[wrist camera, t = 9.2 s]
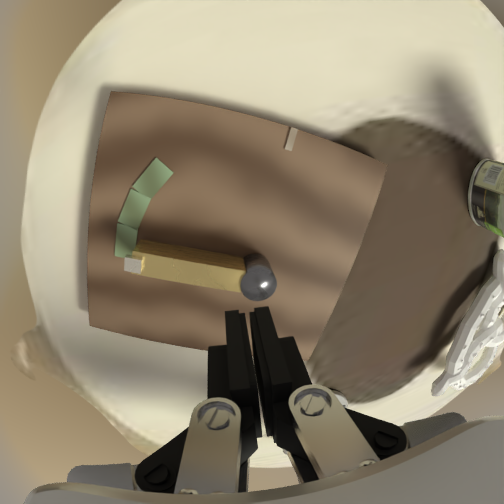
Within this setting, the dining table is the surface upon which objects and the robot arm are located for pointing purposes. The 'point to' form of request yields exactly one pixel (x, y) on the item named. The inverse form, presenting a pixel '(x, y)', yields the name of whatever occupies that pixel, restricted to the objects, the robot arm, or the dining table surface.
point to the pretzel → (476, 335)
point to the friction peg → (203, 268)
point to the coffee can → (487, 195)
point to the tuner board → (221, 217)
